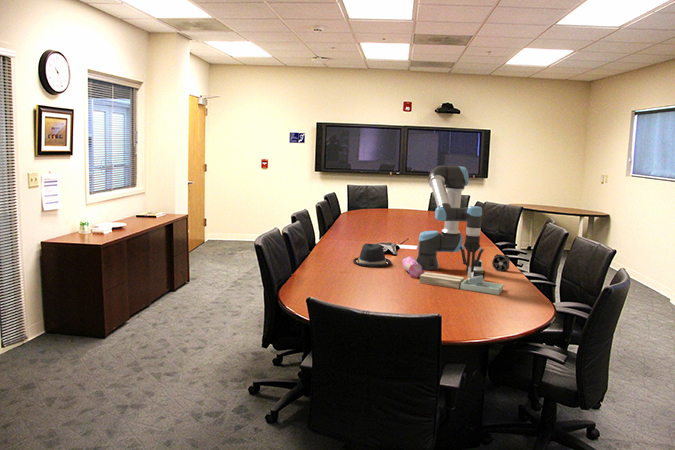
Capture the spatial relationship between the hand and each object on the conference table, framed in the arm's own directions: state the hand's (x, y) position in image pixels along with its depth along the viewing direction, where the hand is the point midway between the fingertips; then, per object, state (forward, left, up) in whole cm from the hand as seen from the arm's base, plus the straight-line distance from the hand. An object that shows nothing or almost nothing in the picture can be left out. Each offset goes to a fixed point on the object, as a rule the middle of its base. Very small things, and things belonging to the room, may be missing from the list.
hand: (469, 277), depth 279 cm
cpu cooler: (-56, +8, -6) cm, 57 cm away
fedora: (-26, -68, -6) cm, 73 cm away
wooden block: (0, -15, -6) cm, 16 cm away
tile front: (0, +7, -2) cm, 8 cm away
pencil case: (-13, -36, -6) cm, 39 cm away
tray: (0, +7, -6) cm, 9 cm away
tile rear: (0, +4, -2) cm, 5 cm away
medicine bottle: (-19, 0, -6) cm, 20 cm away
